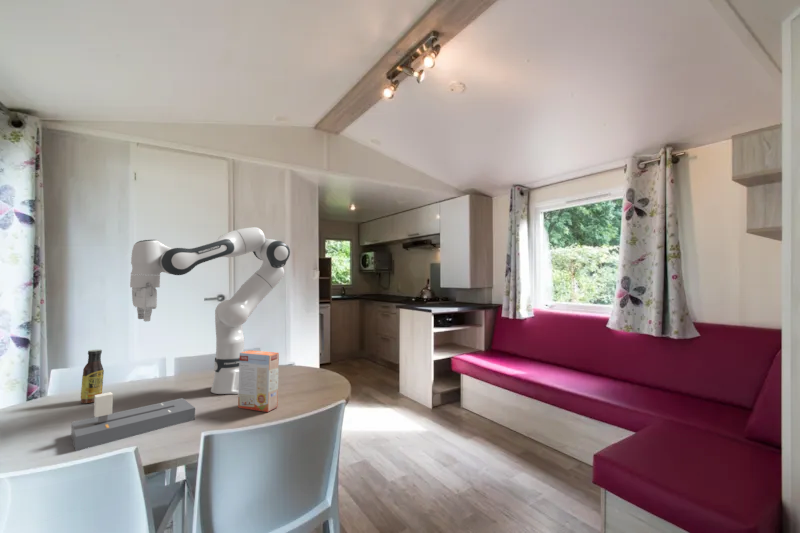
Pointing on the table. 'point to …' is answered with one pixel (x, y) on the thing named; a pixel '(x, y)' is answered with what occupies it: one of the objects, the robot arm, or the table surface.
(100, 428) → the console
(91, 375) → the sauce bottle
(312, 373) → the table surface
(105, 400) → the fader knob
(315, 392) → the table surface
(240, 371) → the cracker box
